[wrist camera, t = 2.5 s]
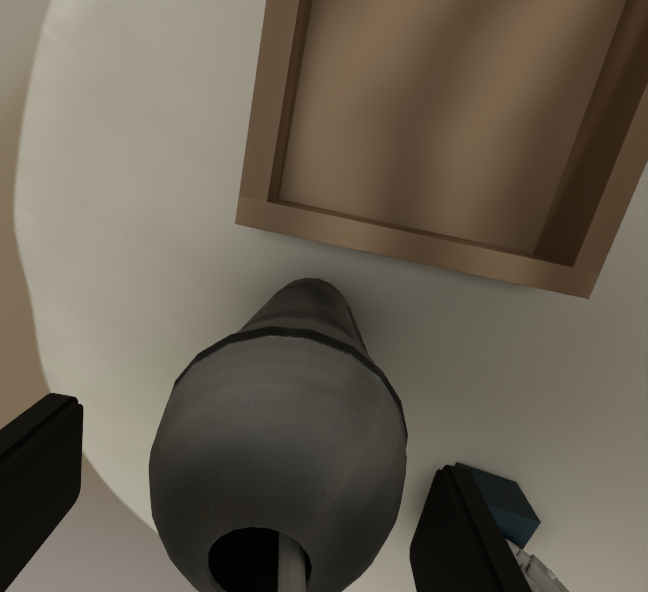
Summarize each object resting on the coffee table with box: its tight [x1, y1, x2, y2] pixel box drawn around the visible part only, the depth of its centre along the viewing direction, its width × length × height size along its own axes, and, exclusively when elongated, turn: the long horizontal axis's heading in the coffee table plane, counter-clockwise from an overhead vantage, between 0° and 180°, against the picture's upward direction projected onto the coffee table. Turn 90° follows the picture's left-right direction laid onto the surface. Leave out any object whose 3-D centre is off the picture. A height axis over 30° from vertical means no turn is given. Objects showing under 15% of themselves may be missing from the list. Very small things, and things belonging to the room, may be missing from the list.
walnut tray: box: [235, 0, 648, 299], centre depth 17 cm, size 16×16×4 cm
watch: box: [455, 463, 569, 592], centre depth 21 cm, size 6×8×11 cm
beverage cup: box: [149, 278, 408, 592], centre depth 13 cm, size 7×7×20 cm
